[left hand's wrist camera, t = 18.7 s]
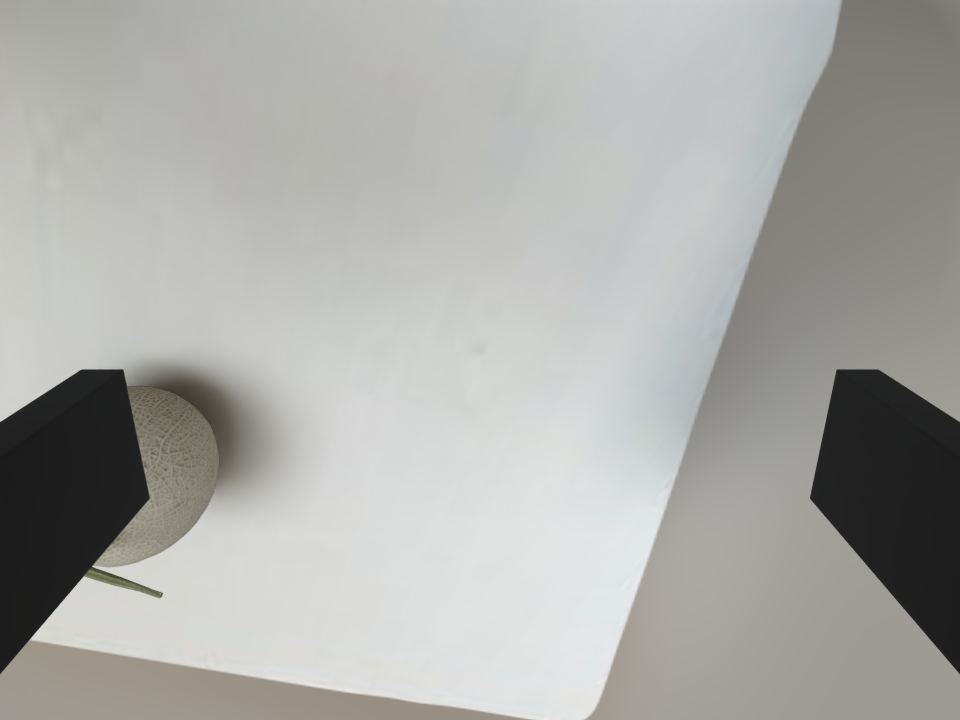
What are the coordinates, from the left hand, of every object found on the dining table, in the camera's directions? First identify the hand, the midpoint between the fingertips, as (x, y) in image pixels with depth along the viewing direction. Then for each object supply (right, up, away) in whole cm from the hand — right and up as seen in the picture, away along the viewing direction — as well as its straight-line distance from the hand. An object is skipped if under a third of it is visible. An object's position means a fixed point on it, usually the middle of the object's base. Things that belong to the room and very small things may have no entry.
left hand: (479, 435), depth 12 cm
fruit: (-23, -4, +35) cm, 41 cm away
